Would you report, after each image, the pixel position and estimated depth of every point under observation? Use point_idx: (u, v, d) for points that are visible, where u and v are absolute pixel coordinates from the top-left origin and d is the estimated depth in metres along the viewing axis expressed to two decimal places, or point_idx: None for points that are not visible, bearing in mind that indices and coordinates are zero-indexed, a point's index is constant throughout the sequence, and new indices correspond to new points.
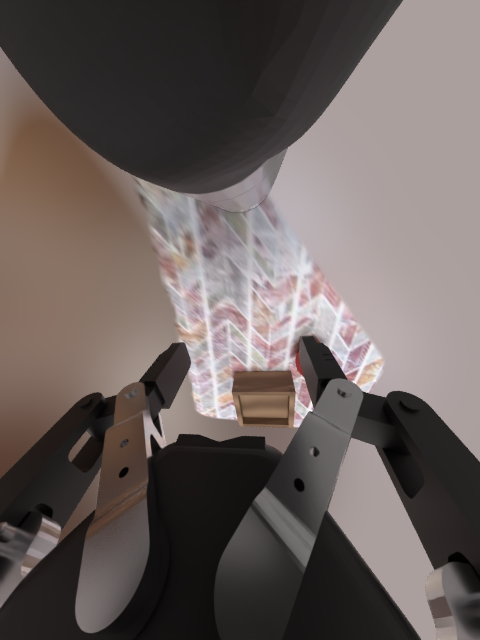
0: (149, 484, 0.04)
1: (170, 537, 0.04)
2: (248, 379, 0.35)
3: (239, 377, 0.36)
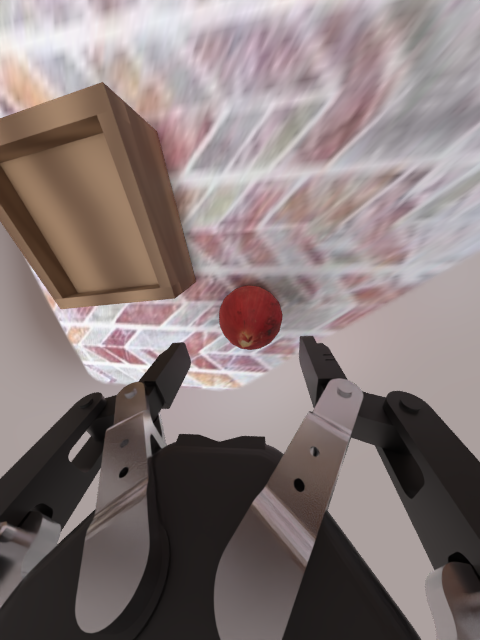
0: (149, 484, 0.04)
1: (170, 537, 0.04)
2: (155, 172, 0.13)
3: (150, 142, 0.12)
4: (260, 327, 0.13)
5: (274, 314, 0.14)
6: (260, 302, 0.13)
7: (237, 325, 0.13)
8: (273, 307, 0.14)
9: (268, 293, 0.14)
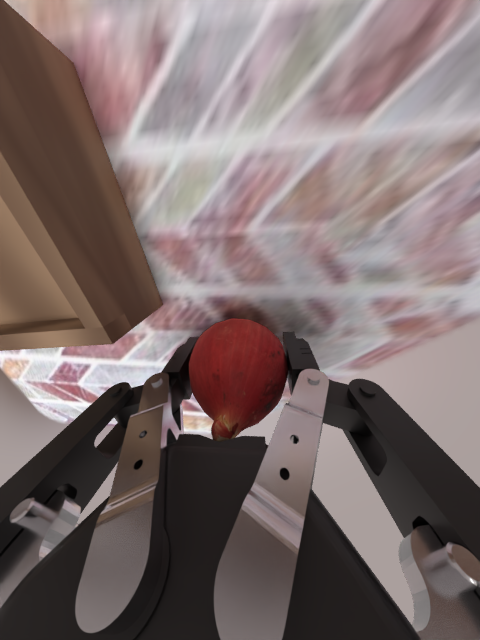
0: (149, 484, 0.04)
1: (170, 537, 0.04)
2: (62, 128, 0.07)
3: (51, 73, 0.07)
4: (253, 403, 0.07)
5: (277, 373, 0.08)
6: (253, 356, 0.08)
7: (212, 400, 0.07)
8: (274, 361, 0.08)
9: (266, 334, 0.09)
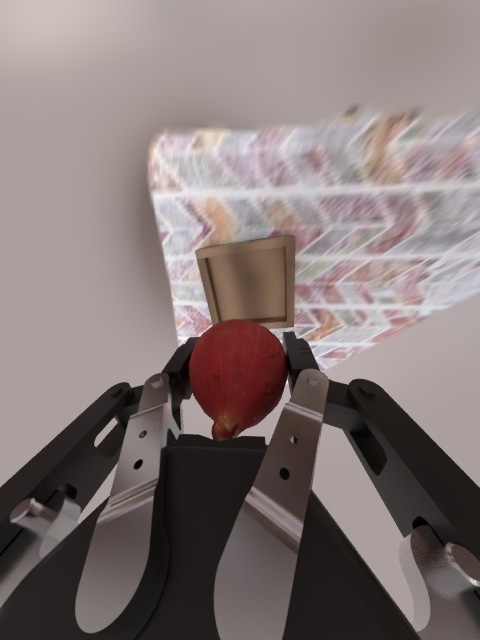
0: (149, 484, 0.04)
1: (170, 537, 0.04)
2: None
3: None
4: (253, 404, 0.07)
5: (277, 374, 0.08)
6: (253, 357, 0.08)
7: (213, 400, 0.07)
8: (274, 362, 0.08)
9: (266, 335, 0.09)
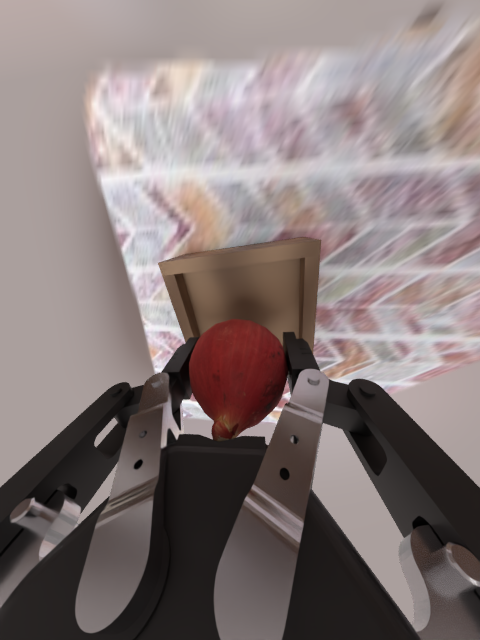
0: (149, 484, 0.04)
1: (170, 537, 0.04)
2: None
3: None
4: (253, 404, 0.07)
5: (277, 374, 0.08)
6: (253, 357, 0.08)
7: (213, 400, 0.07)
8: (274, 362, 0.08)
9: (266, 335, 0.09)
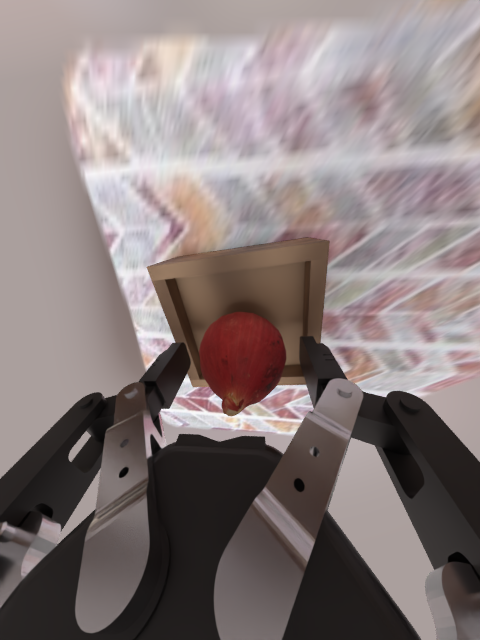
0: (149, 484, 0.04)
1: (170, 537, 0.04)
2: None
3: None
4: (256, 384, 0.09)
5: (276, 359, 0.10)
6: (256, 344, 0.09)
7: (222, 381, 0.09)
8: (274, 349, 0.10)
9: (267, 326, 0.10)
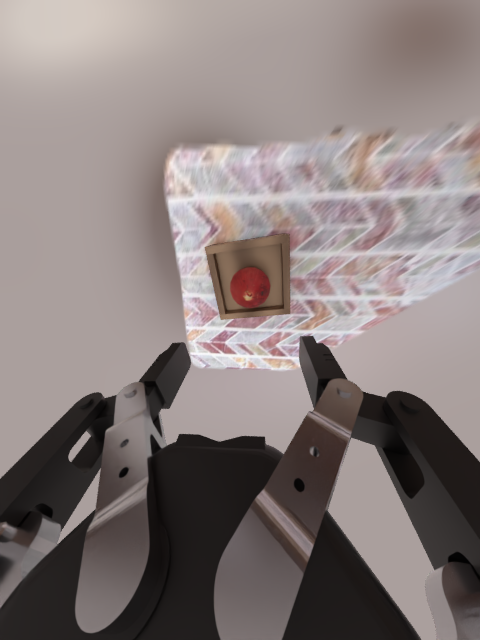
0: (149, 484, 0.04)
1: (170, 537, 0.04)
2: None
3: None
4: (256, 289, 0.21)
5: (265, 282, 0.22)
6: (256, 275, 0.22)
7: (243, 288, 0.22)
8: (264, 278, 0.22)
9: (261, 271, 0.23)
